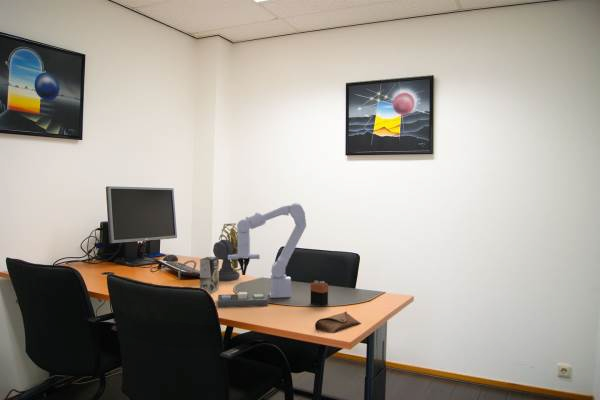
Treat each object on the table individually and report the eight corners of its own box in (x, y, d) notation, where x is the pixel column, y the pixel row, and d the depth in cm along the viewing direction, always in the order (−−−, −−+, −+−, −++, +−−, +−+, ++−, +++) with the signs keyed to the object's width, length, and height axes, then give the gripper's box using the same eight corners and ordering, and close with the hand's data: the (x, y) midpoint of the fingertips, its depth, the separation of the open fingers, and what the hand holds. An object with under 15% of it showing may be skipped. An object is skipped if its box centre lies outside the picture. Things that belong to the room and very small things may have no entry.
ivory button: (246, 298, 215) (246, 292, 215) (247, 300, 211) (247, 294, 211) (237, 299, 214) (237, 292, 214) (237, 301, 210) (237, 294, 210)
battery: (321, 306, 208) (322, 283, 207) (310, 303, 212) (310, 280, 212) (328, 304, 211) (328, 281, 211) (316, 301, 216) (316, 279, 215)
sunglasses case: (333, 333, 170) (325, 315, 172) (319, 340, 174) (312, 322, 177) (362, 323, 184) (355, 306, 186) (349, 329, 188) (342, 312, 190)
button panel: (265, 298, 220) (265, 293, 220) (267, 305, 208) (267, 299, 208) (218, 300, 217) (218, 294, 217) (217, 307, 205) (217, 301, 205)
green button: (262, 300, 216) (262, 294, 216) (263, 303, 212) (263, 296, 212) (253, 301, 215) (253, 294, 215) (254, 303, 212) (254, 296, 211)
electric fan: (251, 280, 261) (251, 224, 259) (194, 287, 243) (194, 227, 241) (229, 272, 282) (229, 221, 281) (176, 278, 264) (176, 223, 263)
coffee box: (212, 293, 230) (212, 259, 229) (199, 292, 231) (199, 259, 231) (219, 289, 239) (219, 256, 238) (206, 288, 240) (206, 256, 240)
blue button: (230, 301, 214) (230, 295, 214) (230, 304, 210) (230, 297, 210) (221, 302, 213) (221, 295, 213) (221, 304, 209) (221, 297, 209)
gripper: (227, 246, 220) (227, 276, 220) (260, 246, 222) (259, 275, 222) (227, 244, 227) (227, 273, 227) (259, 244, 229) (258, 273, 229)
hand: (243, 274), depth 225 cm, fingers closed
